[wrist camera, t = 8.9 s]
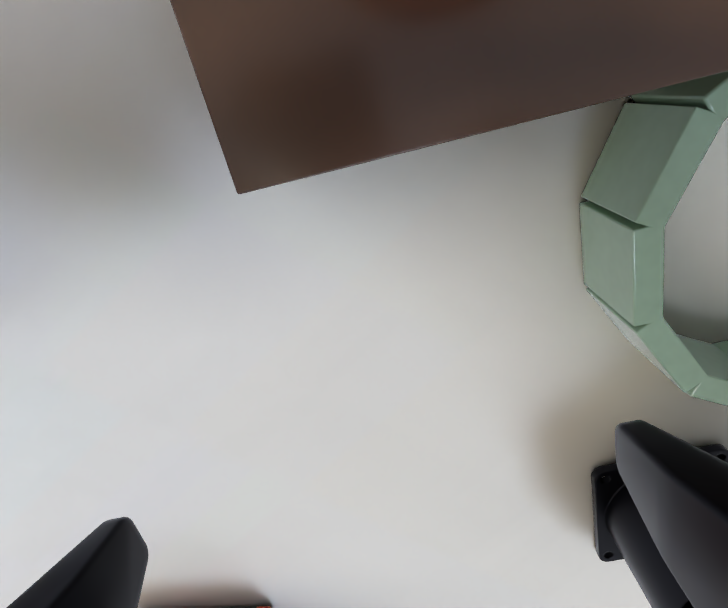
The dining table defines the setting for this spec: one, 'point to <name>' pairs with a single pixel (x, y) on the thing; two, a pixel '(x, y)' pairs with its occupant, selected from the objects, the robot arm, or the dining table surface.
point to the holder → (652, 224)
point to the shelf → (423, 70)
